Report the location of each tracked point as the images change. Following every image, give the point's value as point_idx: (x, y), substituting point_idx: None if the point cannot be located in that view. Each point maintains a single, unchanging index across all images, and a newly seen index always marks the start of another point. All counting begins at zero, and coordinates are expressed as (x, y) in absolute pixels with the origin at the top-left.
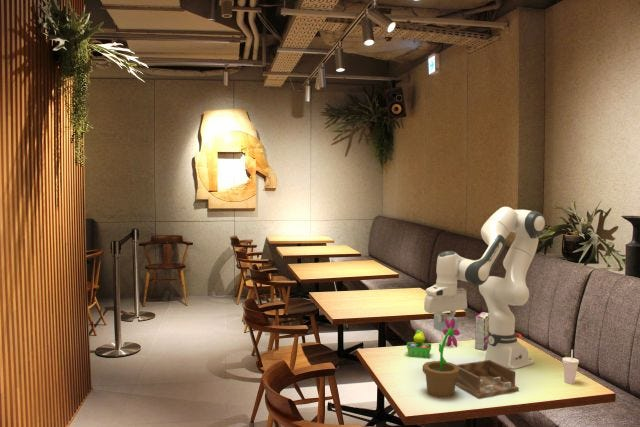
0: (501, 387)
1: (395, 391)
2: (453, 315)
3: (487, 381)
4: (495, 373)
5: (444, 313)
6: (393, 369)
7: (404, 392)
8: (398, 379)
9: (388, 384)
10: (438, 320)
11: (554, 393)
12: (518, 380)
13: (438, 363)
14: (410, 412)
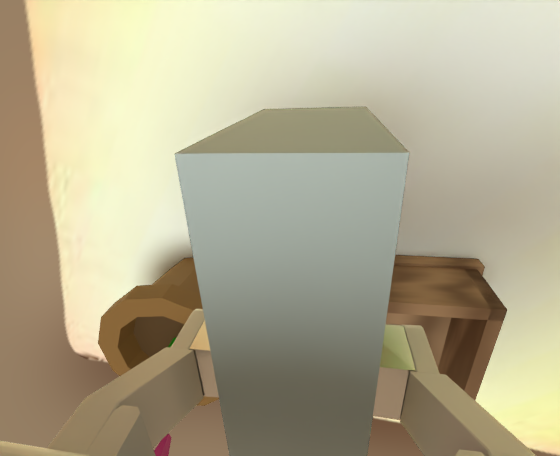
0: None
1: (72, 232)
2: (435, 453)
3: (396, 319)
4: (460, 323)
5: (366, 325)
6: (119, 11)
7: (98, 249)
8: (108, 143)
9: (61, 173)
10: (192, 318)
11: (530, 423)
12: (545, 325)
13: (179, 320)
14: (81, 343)
